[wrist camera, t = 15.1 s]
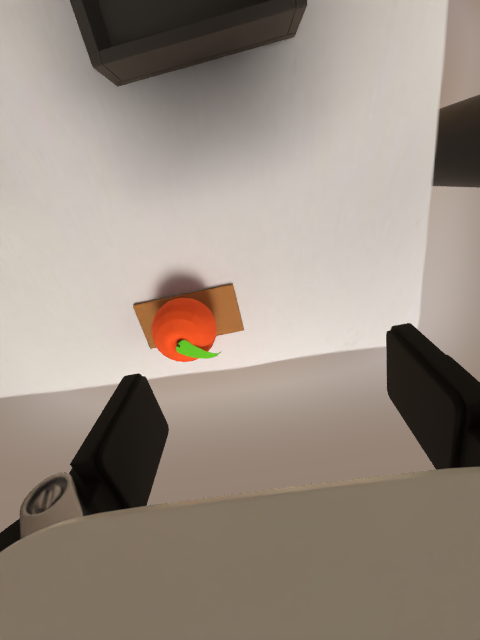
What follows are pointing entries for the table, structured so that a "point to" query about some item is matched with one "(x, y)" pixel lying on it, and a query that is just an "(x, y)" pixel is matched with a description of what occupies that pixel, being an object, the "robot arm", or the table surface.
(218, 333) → the cork mat
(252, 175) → the table surface
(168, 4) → the black box
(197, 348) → the clementine
